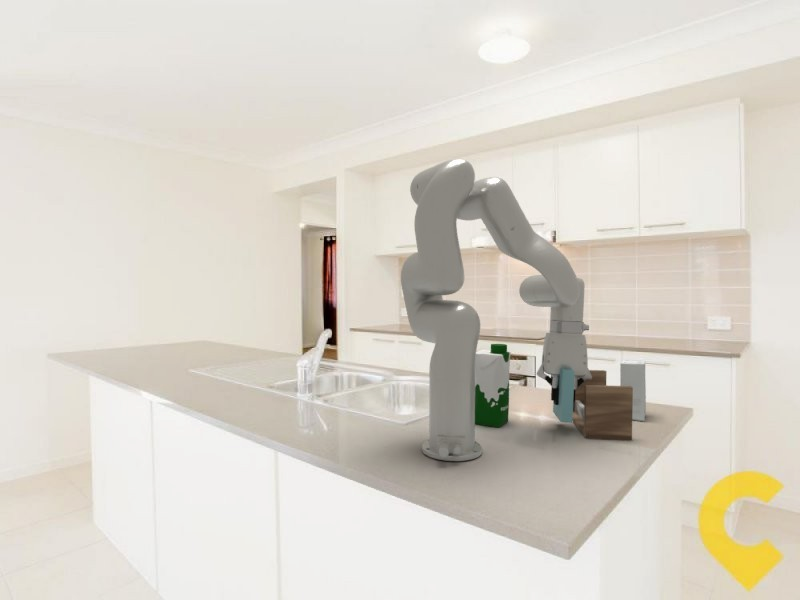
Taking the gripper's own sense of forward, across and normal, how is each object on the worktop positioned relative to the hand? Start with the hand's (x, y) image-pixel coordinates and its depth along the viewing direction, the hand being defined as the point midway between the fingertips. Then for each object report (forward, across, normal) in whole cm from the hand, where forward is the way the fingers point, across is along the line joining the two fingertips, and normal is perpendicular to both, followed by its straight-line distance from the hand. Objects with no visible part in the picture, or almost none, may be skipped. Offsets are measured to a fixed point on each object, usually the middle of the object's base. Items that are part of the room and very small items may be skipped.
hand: (562, 403), depth 116 cm
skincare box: (+5, -21, -15) cm, 26 cm away
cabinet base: (+6, -9, -5) cm, 12 cm away
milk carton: (+7, +17, -4) cm, 19 cm away
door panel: (+3, 0, 0) cm, 3 cm away
